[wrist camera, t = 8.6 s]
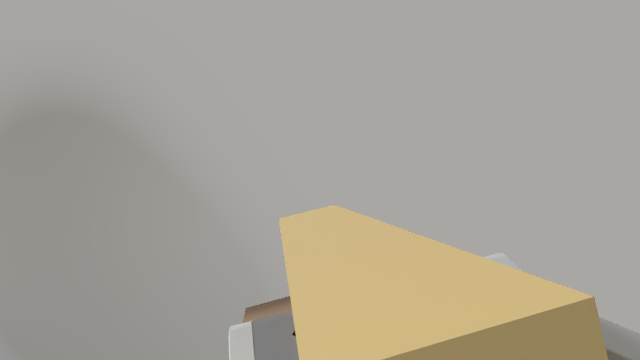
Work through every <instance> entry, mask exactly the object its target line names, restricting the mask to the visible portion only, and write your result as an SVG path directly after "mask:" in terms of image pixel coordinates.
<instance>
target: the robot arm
mask: <svg viewBox="0 0 640 360" xmlns="http://www.w3.org/2000/svg"><path fill="white" fill-rule="evenodd" d="M483 258H486V259H489V260H492V261H495V262H497V263H500V264H503V265H506V266H509V267H512V268H514V269H517V270H520V269H519V268H518V267H517V266H516V265H515V264H514V263H513V262H512V261H511V260H510V259H509V258H508V257H507V256H506V255H505V254H502V253H497V254H493V255H490V256H486V257H483ZM520 271H521V270H520ZM599 321H600V325H601V330H602V334H603V339H604V343H605V348H606V352H607V357H608V360H640V334H639V333H637V332H634V331H632V330H629V329H627V328H625V327H622V326H620V325H617V324H615V323H612V322H610V321H607V320H605V319H603V318H600V317H599ZM229 360H299V355H298V348H297V341H296V334H295V327H294V320H293V313H292V311H288V312H284V313H280V314H276V315H272V316H268V317H264V318H260V319H256V320H253V321H249V322H245V323H241V324H238V325H233V326H230V330H229Z"/></svg>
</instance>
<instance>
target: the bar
mask: <svg viewBox="0 0 640 360" xmlns="http://www.w3.org/2000/svg"><path fill="white" fill-rule="evenodd" d="M279 222H280V229H281V236H282V243H283V250H284V257H285V264H286V271H287V278H288V285H289V291H290V299H291V306H292V313H293V320H294V327H295V334H296V341H297V348H298V355H299V360H608V357H607V352H606V348H605V343H604V339H603V334H602V330H601V325H600V321H599V317H598V312H597V308H596V303H595V299H594V296H591V295H588V294H585V293H582V292H580V291H577V290H574V289H571V288H568V287H565V286H562V285H560V284H557V283H554V282H551V281H548V280H546V279H543V278H540V277H537V276H534V275H531V274H528V273H526V272H523V271H520V270H517V269H514V268H512V267H509V266H506V265H503V264H500V263H497V262H495V261H492V260H489V259H486V258H483V257H481V256H478V255H475V254H472V253H469V252H466V251H464V250H461V249H458V248H455V247H452V246H449V245H447V244H443V243H441V242H438V241H435V240H432V239H430V238H427V237H424V236H421V235H418V234H415V233H413V232H410V231H406V230H404V229H401V228H398V227H396V226H392V225H390V224H387V223H384V222H382V221H379V220H376V219H373V218H370V217H367V216H364V215H362V214H359V213H356V212H353V211H350V210H347V209H345V208H342V207H339V206H336V205H332V206H328V207H324V208H320V209H316V210H312V211H308V212H304V213H300V214H295V215H291V216H287V217H283V218H280V219H279Z"/></svg>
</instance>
